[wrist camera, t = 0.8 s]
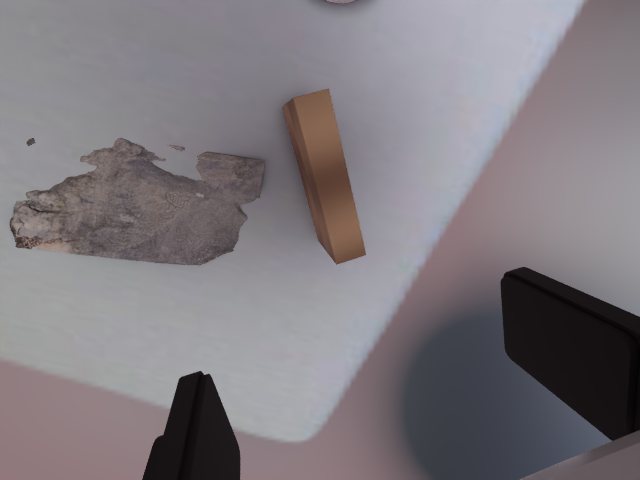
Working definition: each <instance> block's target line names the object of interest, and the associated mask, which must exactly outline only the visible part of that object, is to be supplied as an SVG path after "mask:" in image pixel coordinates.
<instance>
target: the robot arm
mask: <svg viewBox="0 0 640 480" xmlns="http://www.w3.org/2000/svg"><path fill="white" fill-rule="evenodd" d="M501 298H502V313H503V328H504V341H505V342H504V343H505V350H506V353H507V355H508V356H509V358H510V359H511V360H512V361H514V362H515V363H516V364H517V365H519V366H520V367H521V368H522V369H524V370H525V371H526V372H527V373H529V374H530V375H531V376H532V377H534V378H535V379H536V380H537V381H538V382H540V383H541V384H542V385H543V386H545V387H546V388H547V389H548V390H550V391H551V392H552V393H553V394H555V395H556V396H557V397H558V398H560V399H561V400H562V401H563V402H565V403H566V404H567V405H568V406H570V407H571V408H572V409H573V410H575V411H576V412H577V413H578V414H579V415H581V416H582V417H583V418H584V419H586V420H587V421H588V422H589V423H591V424H592V425H593V426H594V427H596V428H597V429H598V430H599V431H600V432H602V433H603V434H604V435H606V436H607V437H608V438H609V439H611V440H612V442H610V443H607V444H605V445H602V446H600V447H597V448H595V449H592V450H590V451H588V452H585V453H583V454H580V455H578V456H575V457H573V458H571V459H568V460H566V461H563V462H561V463H559V464H556V465H554V466H551V467H549V468H546V469H544V470H542V471H539V472H537V473H534V474H532V475H530V476H528V477H525V478H522V479H520V480H640V317H639V316H636V315H634V314H632V313H630V312H627V311H625V310H623V309H620V308H618V307H616V306H613V305H611V304H609V303H607V302H604V301H602V300H600V299H597V298H595V297H593V296H591V295H588V294H586V293H584V292H581V291H579V290H577V289H575V288H572V287H570V286H568V285H565V284H563V283H561V282H558V281H556V280H554V279H552V278H549V277H547V276H545V275H542V274H540V273H538V272H536V271H533V270H531V269H529V268H526V267H521V268H518V269H514V270H511V271H509V272H506V273H505V274H504V277H503V278H502V280H501ZM142 480H240V450H239V446H238V443H237V440H236V437H235V435H234V432H233V430H232V427H231V425H230V422H229V420H228V417H227V415H226V412H225V410H224V407H223V405H222V402H221V400H220V397H219V395H218V392H217V389H216V387H215V384H214V382H213V379H212V377H211V375H210V374H206V375H204V374H203V373H202V372H201V371H199V372H196V373H192V374H189V375H186V376H183V377H181V378H180V379H179V381H178V385H177V389H176V392H175V396H174V399H173V403H172V406H171V410H170V413H169V417H168V421H167V424H166V428H165V431H164V435H162V436H159V437H158V438H157V439H156V440H155V442H154V444H153V446H152V449H151V453H150V456H149V459H148V462H147V466H146V469H145V472H144V475H143V479H142Z"/></svg>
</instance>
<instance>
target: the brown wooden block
mask: <svg viewBox="0 0 640 480" xmlns="http://www.w3.org/2000/svg"><path fill="white" fill-rule="evenodd" d="M283 111H284V114H285V118H286V122H287V125H288V129H289V133H290V136H291V140H292V144H293V148H294V151H295V155H296V159H297V162H298V166H299V170H300V173H301V177H302V181H303V185H304V188H305V192H306V196H307V199H308V203H309V207H310V211H311V214H312V218H313V222H314V225H315V229H316V233H317V236H318V240H319V242H320V243H321V245H322V246H323V247H324V249H325V250H326V251H327V253H328V254H329V255H330V257H331V258H332V259H333V261H334V262H335V263H336V265H337V264H340V263H343V262H346V261H349V260H352V259H355V258H358V257H361V256H364V255H366V252H365V248H364V243H363V239H362V235H361V230H360V226H359V221H358V217H357V212H356V208H355V203H354V199H353V194H352V190H351V186H350V181H349V177H348V172H347V168H346V163H345V159H344V154H343V150H342V145H341V141H340V137H339V132H338V128H337V123H336V119H335V114H334V110H333V105H332V101H331V96H330V92H329V89H326V90H322V91H318V92H314V93H310V94H306V95H302V96H299V97H295V98H293V99H291V100H290V101H289V102H288V103H287V104H285V105H284V106H283Z"/></svg>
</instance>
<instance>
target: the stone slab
mask: <svg viewBox="0 0 640 480" xmlns="http://www.w3.org/2000/svg"><path fill="white" fill-rule="evenodd" d="M34 143H35V140H34V138H32V139H29V140H28V141H27V145H28V146H30V145H32V144H34ZM169 146H170V147H172V148H175V149H176V150H180V151H183V150H185V148H183V147H177V146H171V145H169ZM154 154H155V153H152V152H148V151H147V150H145V148H144V147H142V146H140V145H137V144H134V143H131V142H130V141H128V140H126V139H123V138H118V139H117V140H116V141H115V144H114V146H113V147H112V148H107V149H106V148H103V149H100V150H94V151H93V152H92V153H91V154H89V155H88V157H87V156H82V157H81V159H80V161H81V162H86V163H88V164H91V165H97V168H96V170H95V171H92V172H88V173H87V174H84V175H79V176H76V177H68V178H66V179H65V180H64V181H63V182H62V183H60V184H57V185H55V186H53V187H52V188H51V189H50V190H46V191H39V190H35V191H31V192H27V193H26V196H27V198H28V199H32V200H25V201H16V204H15V206H14V215H13V217H12V218H11V220H10V228H11V231H12V232H13V235H14V237H15V242H17V244H16V247H17V248H27V249H32V248H31V247H36V246H38V247H37V248H36V249H41V250H49V251H58V252H66V253H72V254H79V255H92V256H100V257H106V258H115V259H126V260H136V261H145V262H155V263H168V264H180V265H201V264H203V263H206V262H208V261H210V260H213V259H214V258H216V257H219V256H220V255H222V254H224V253H227V252H232V251H234V250H233V248H234V246H235V244H236V243H237V241H238V236H239V235H238V233H239V230H240V227H241V226H242V224H243V223H244V222H245V221H246V220H247V219H248V218H247V215H246V214H245V213H244V212H243V211H242V210H241V209H240V205H243V204H246V203H249V202H252V201H254V200H255V199H256V198H259V197H260V192H261V186H262V180H263V173H264V164H265V161H261V160H255V159H249V158H243V157H237V156H230V155H224V154H218V153H212V152H205V153H203V154H201V155H199V156H197V157H198V158H199V159H198V160H199V161H198V164H197V165H196V169H197V170H198V172H199V174H200V175H201V178H202V179H203V180H204V182H203V181H200V180H198V181H195V180H192V179H189V178H187V177H184V176H178V175H173V174H171V173H169V172H166V171H164V170H162V169H160V168H158V167H157V166H155V165H154V164H153V163H152V162H150V161H152V160H159V161H165V160H166V159H165V158H164V159H161V158H159V157H157V156H154ZM24 246H28V247H24Z"/></svg>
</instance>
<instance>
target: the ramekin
mask: <svg viewBox="0 0 640 480" xmlns="http://www.w3.org/2000/svg"><path fill="white" fill-rule="evenodd" d="M326 1H328V2H333V3H350V2H352V1H356V0H326Z"/></svg>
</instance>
